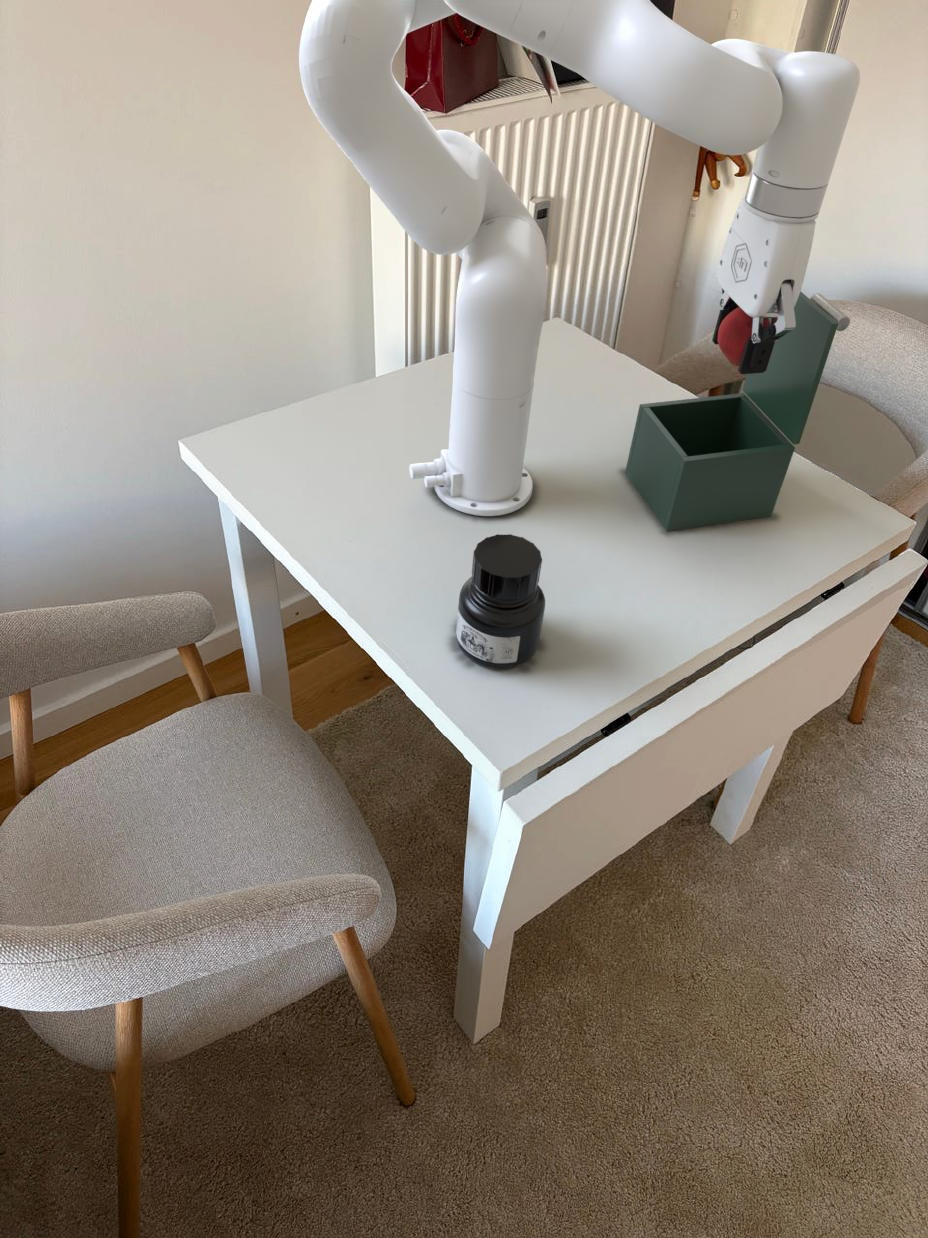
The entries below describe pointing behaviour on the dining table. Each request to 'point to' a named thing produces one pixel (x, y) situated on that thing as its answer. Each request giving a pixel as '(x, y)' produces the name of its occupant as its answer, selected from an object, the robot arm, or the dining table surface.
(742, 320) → the onion
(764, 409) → the bin lid
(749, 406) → the bin
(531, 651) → the ink bottle
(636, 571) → the dining table surface
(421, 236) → the robot arm
